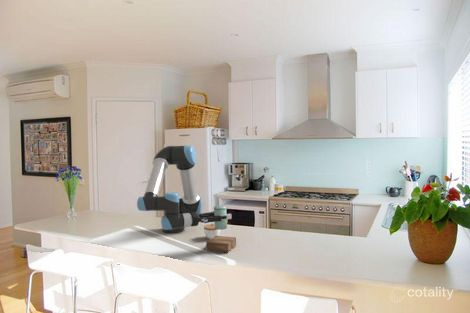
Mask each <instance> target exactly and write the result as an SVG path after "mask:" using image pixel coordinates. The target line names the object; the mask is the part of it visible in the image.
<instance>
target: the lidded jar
mask: <svg viewBox="0 0 470 313" xmlns="http://www.w3.org/2000/svg"><path fill="white" fill-rule="evenodd" d="M203 231H204V235H205V237H206V238H207V240H210V239H212V238H213V237H214V236H221V231H222V230H217V229H215V224H214V222H211V223H210V224H205V225H204V226H203Z"/></svg>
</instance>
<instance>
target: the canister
mask: <svg viewBox="0 0 470 313" xmlns="http://www.w3.org/2000/svg"><path fill="white" fill-rule="evenodd" d="M227 210H228V206H226V205H215V206H213V211H214V216H220V215H225V214H228V213H227ZM227 220H228V219H225V220H221V222H220V221H218V222H213V224H215V229H217V230H221V231H222V230H226V229H227V228H228V226H227V225H228V221H227Z"/></svg>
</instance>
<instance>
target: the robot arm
mask: <svg viewBox="0 0 470 313" xmlns="http://www.w3.org/2000/svg"><path fill="white" fill-rule="evenodd" d="M197 160H198V159H197V151H196V148H195V147H194V146H192V145H186V144H185V145H168V146H165V147H163V148H161V149H160V150H159V151H158V152H157V153H156V154H155V156H154V158H153V160H152V165H153V166H152V168H151V172H150V175H149V179H148V182H147V185H146V187H145V188H146V189H145V190H144V192H145V193H144V194H143V196H139V197H138V198H137V202H136V206H137V207H136V208H137V209H138V211H143V212H152V211H153V212H157V211H158V212H159V211H160V212H163V213H164V215H162V216H161V219H160V226H161V229H162V230H161V231H162V233H165V232H166V233H165V234H174V233H175V232H177V233H182V232H183V230H184V231H185V229H187V228H190V227H198V225H199V223H204V224H208V223H214V222H218V221H220V222H221V220H225V219H227V220H232V216H233V215H232V213H227V214H225V215H220V216H214V210H213V211H208V212H203V205H204V204H203V201H204V200H203V198H202V197H200V195H199V194H198V193H197V187H196V186H197V185H196V181H195V180H196V178H195V174H194V167H195V165H196V164H197ZM170 165H171V166H172V165H173V166H175V167H176V169H177V170H179V174H180V175H179V176H180V180H181V185H182V191H183V197H181V195H179V193H178V192H176V191H171V192H166V193H165V194H164V195H163V196H159V194H160V191H161V188H162V184H163V180H164V177H165V173H166V169H167V170H168V168H169V166H170ZM202 212H203V213H202Z"/></svg>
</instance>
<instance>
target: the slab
mask: <svg viewBox="0 0 470 313" xmlns="http://www.w3.org/2000/svg"><path fill="white" fill-rule="evenodd" d="M235 247H237V236H236V237H233V236H222V235H219V236H214V237H213V238H212V239H208V240H207V241H206V249H205V250H206V252H212V251H216V252H215V253H222V252H229V251H230V250H231V249H232V250H234V249H235ZM232 250H231V251H232ZM231 251H230V252H231ZM230 252H229V253H230Z"/></svg>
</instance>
